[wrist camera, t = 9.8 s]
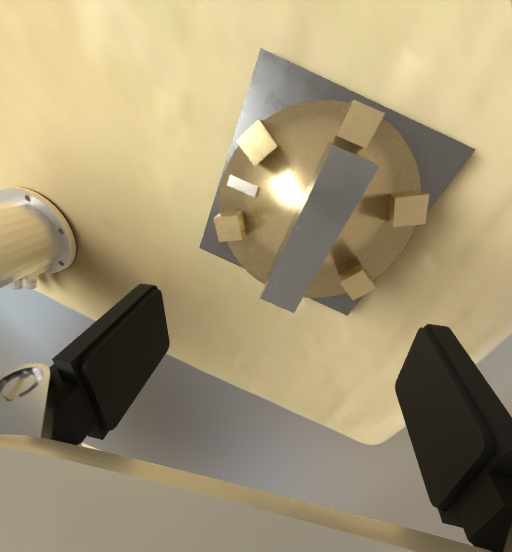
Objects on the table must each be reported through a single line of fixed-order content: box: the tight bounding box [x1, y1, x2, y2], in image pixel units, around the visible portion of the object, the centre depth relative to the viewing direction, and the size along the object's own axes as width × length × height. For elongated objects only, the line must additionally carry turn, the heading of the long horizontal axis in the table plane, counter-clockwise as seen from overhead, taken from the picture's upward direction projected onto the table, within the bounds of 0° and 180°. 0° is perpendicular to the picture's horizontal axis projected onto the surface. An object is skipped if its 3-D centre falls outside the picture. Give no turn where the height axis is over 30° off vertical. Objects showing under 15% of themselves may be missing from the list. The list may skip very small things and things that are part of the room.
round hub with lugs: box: [214, 100, 429, 313], centre depth 23 cm, size 18×18×10 cm
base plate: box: [200, 49, 475, 315], centre depth 28 cm, size 20×20×2 cm
